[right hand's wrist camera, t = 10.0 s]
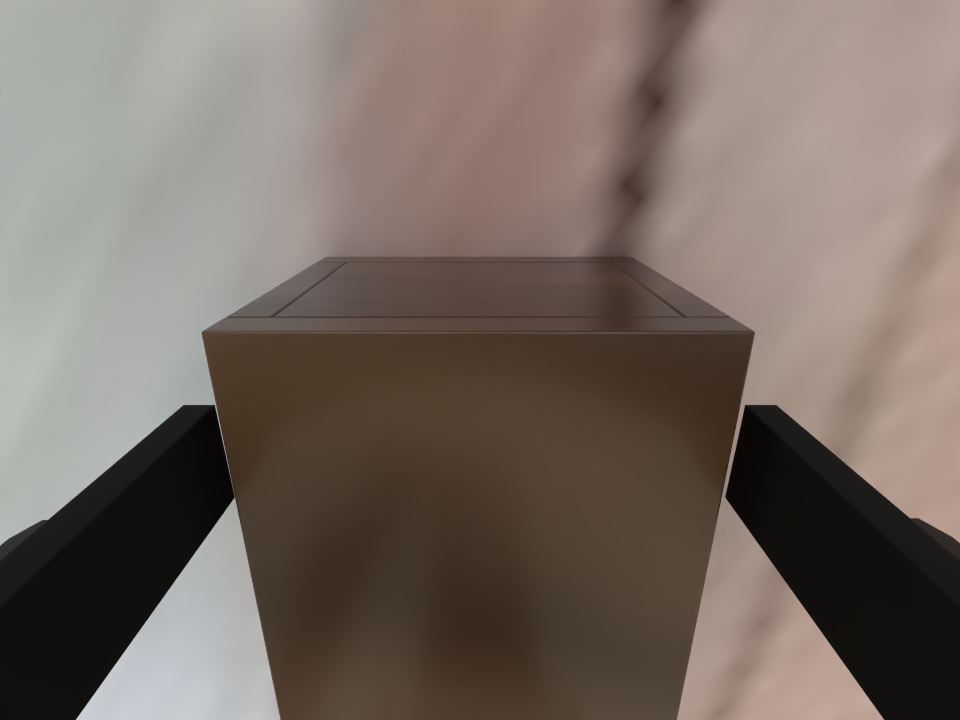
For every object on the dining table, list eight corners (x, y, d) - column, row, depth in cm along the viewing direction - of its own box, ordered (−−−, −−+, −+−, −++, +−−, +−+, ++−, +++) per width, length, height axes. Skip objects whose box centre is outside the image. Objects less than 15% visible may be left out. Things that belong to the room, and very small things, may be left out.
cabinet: (595, 612, 23) (653, 838, 15) (363, 612, 23) (304, 838, 15) (632, 256, 17) (756, 331, 10) (324, 257, 17) (199, 331, 10)
